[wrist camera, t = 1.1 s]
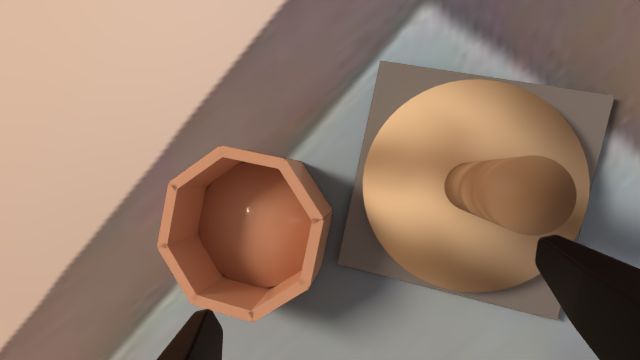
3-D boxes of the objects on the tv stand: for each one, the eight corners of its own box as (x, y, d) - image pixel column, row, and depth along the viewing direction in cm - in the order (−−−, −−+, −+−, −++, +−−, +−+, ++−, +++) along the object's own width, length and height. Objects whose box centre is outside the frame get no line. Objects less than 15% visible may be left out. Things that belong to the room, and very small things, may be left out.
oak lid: (550, 311, 22) (685, 416, 12) (345, 259, 24) (326, 315, 14) (603, 102, 21) (790, 44, 11) (385, 68, 23) (393, -3, 14)
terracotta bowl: (313, 307, 25) (299, 336, 20) (186, 271, 26) (149, 291, 22) (341, 169, 24) (334, 169, 20) (210, 142, 26) (177, 136, 21)
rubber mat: (553, 317, 22) (557, 320, 22) (337, 262, 24) (337, 264, 24) (608, 97, 21) (614, 95, 21) (380, 62, 24) (380, 60, 23)
